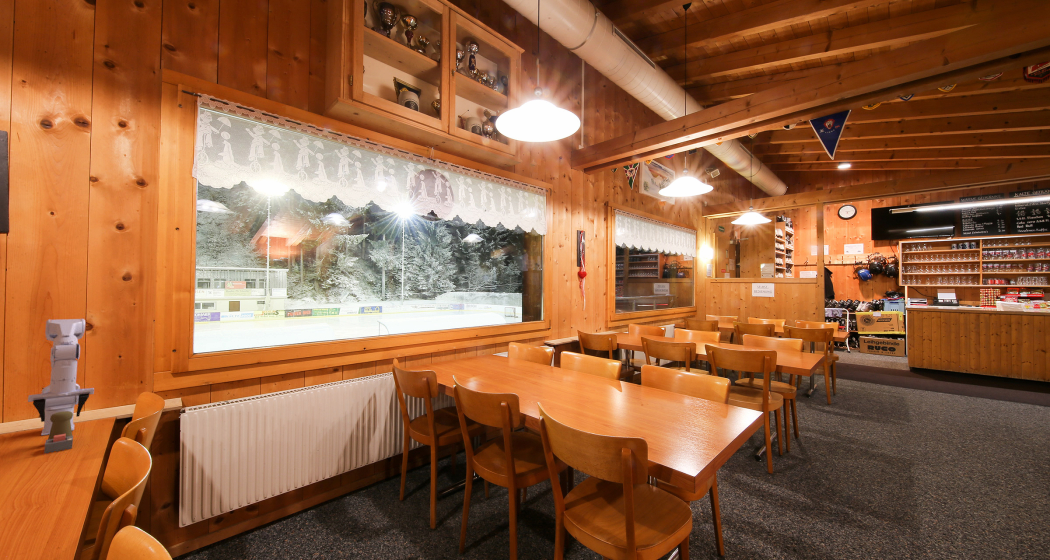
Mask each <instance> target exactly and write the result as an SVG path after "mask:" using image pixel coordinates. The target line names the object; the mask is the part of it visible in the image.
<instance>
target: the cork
mask: <svg viewBox="0 0 1050 560" xmlns="http://www.w3.org/2000/svg"><path fill="white" fill-rule="evenodd" d="M72 417H73V418H74V415H73V413H72V412H70V411H62V412H57V413H54V414H53V415H52V416H51V417H50V420H51V422H52V426H51V430H50V434H48V438H47V440H50V439H54V436H55V435H61V434H66V437H67V436H73V430H71V422H70V420H71V419H72Z"/></svg>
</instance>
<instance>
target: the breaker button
mask: <svg viewBox="0 0 1050 560" xmlns="http://www.w3.org/2000/svg"><path fill="white" fill-rule="evenodd" d="M65 438H66V434H61V435H55V436H54V439H53V442H57V441H63V440H65Z"/></svg>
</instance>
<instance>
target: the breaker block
mask: <svg viewBox="0 0 1050 560" xmlns="http://www.w3.org/2000/svg"><path fill="white" fill-rule="evenodd" d="M73 442H74V436H73V435H72V436H67V437H66V438H65V440H63V441H57V442H53V439H50V440H48V439H46V440H45V443H44V451H43V454H45V453H46V454H50V453H49V452H51V453H55V452H54V451H56V452H60V450H62V451H66V450H65V449H67V450H71V448H72V449H73ZM46 454H45V455H46Z"/></svg>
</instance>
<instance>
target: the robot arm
mask: <svg viewBox="0 0 1050 560" xmlns="http://www.w3.org/2000/svg"><path fill="white" fill-rule="evenodd" d="M85 332H86V320H85V319H84V318H75V319H74V318H72V319H71V318H67V319H65V318H64V319H63V318H62V319H50V318H49V319H47V320H46V321H45V334H44V335H45V338H46V340H47V341H50V342H52V343H53V344H52V347H51V348H50V367H51V370H50V371H51V373H50V382H49V383H50V384H49V385H47V386H45V387H43V389H42V390H41V393H38V394H37V393H36V394H35V393H34V394H29V395H28V397H27V403H32V405H33V406H34V408H35V409H36V410H37V412H38V415H39V417H40V422H41V423H43V428H42V431H41V434H40V435H41V436H47V435H49V434H50V430H51V426H52V422H51V420H50V417H51V416H52V415H53V414H54V413H57V412H62V411H70V412H72V413H73V417H72V419H71V420H70V422H71V430H72V431H74V430H75V423H74V412H75V406H76V405H77V410H76V415H75V416H76V417H80V414H81V411H82V409H83V407H84V405H85V404H86V402H87V401H88V400H89V397H90V395H94V393H95V388H94V387H90V388H88V387H87V388H81V386H80V384H78V383H77V373H78V361H79V359H80V356H81V345H80V343H79V340H80V339H82V338H83V337H84V334H85Z"/></svg>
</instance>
